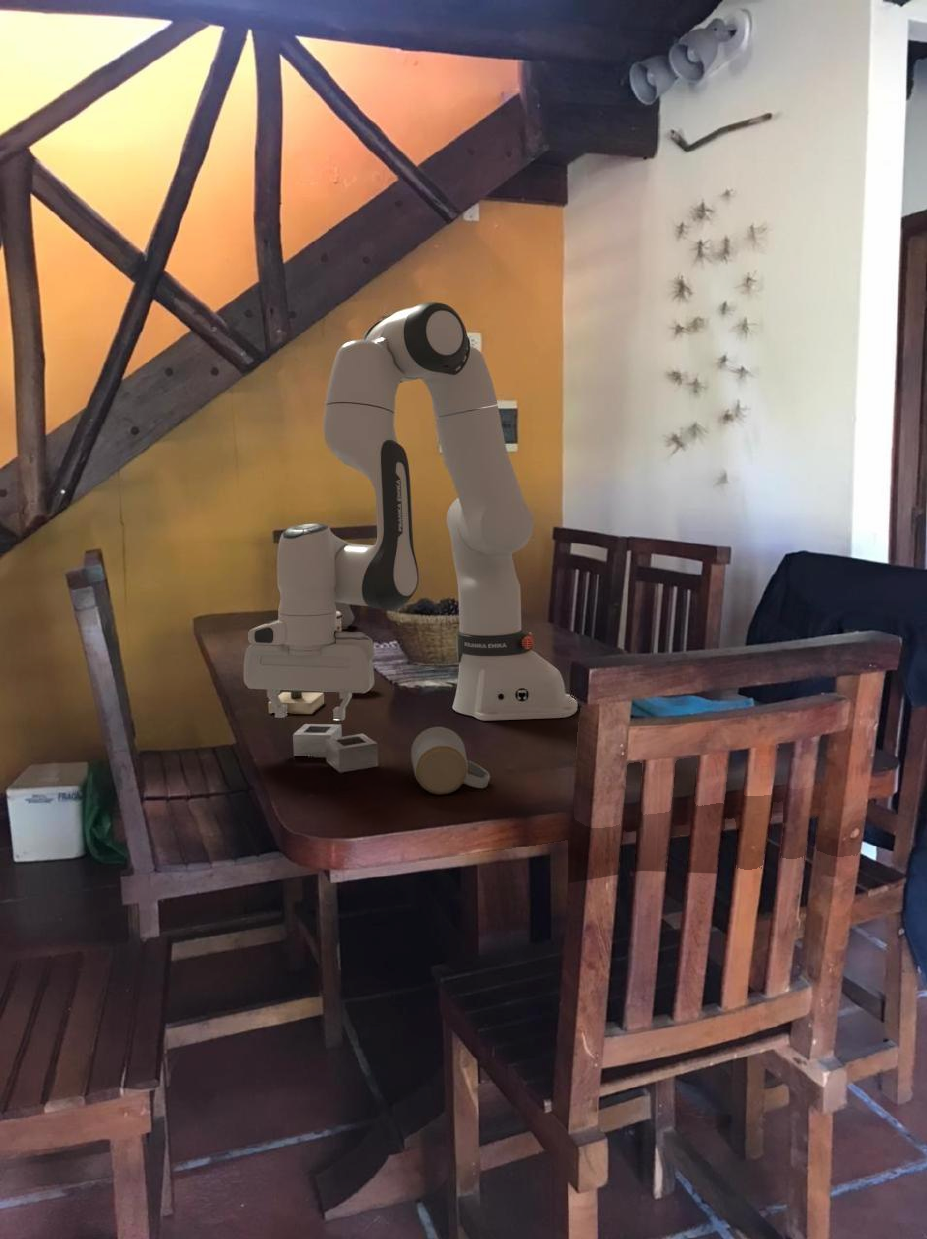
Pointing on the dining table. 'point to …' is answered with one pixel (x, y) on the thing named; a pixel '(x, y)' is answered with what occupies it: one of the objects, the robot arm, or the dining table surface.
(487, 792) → the dining table surface
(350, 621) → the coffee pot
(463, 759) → the ceramic mug
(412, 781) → the dining table surface
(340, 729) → the end link
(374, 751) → the white square box
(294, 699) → the block
